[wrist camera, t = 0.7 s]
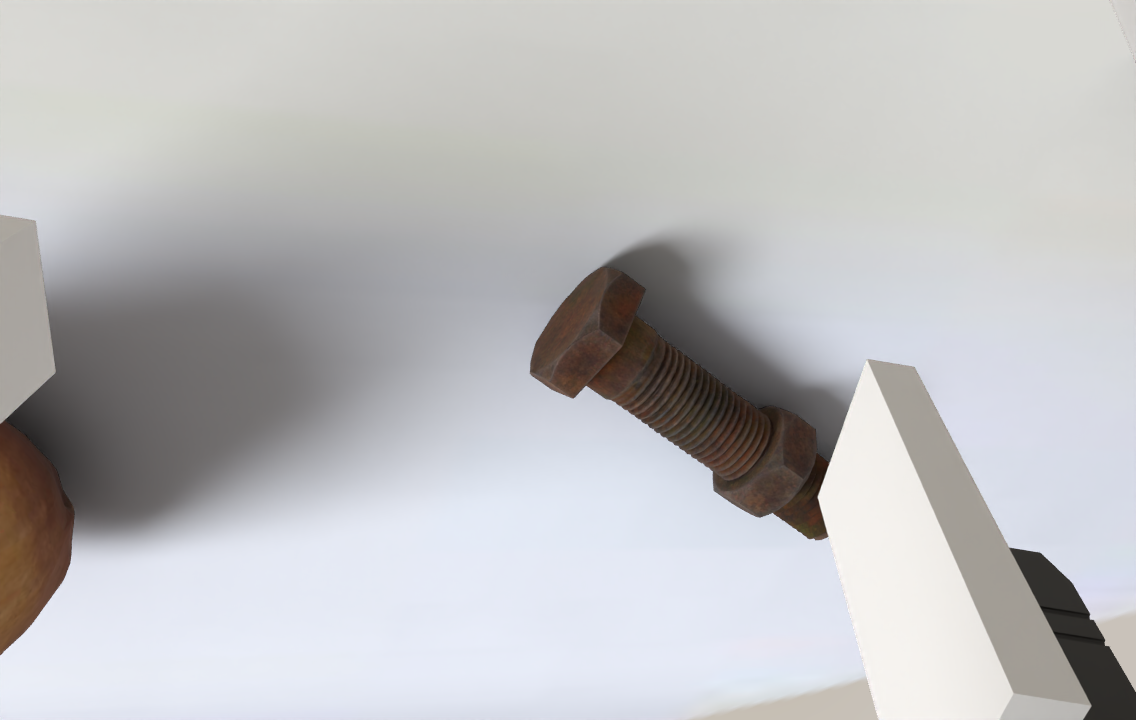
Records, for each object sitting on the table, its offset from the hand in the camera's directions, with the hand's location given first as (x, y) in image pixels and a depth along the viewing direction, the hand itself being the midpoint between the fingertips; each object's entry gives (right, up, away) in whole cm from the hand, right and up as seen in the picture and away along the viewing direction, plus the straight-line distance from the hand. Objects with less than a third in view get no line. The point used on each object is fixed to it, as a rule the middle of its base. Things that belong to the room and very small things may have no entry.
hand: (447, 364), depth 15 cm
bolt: (+8, -1, +26) cm, 27 cm away
